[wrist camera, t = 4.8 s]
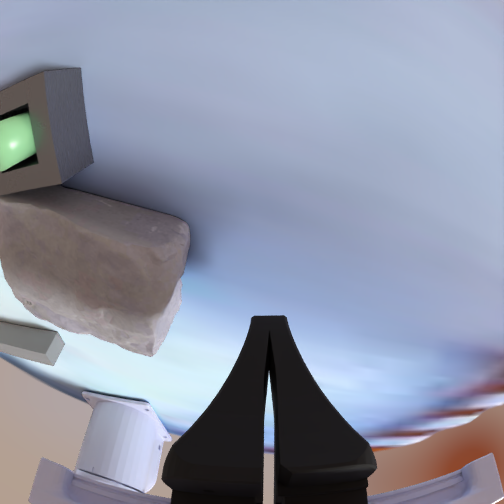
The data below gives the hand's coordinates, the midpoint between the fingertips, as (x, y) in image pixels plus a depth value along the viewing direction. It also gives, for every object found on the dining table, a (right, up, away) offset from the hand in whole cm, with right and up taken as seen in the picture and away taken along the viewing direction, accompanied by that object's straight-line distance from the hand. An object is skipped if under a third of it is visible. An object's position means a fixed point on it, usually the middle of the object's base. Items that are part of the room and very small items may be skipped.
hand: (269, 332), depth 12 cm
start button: (-11, +10, 0) cm, 15 cm away
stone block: (-10, +3, +5) cm, 12 cm away
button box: (-11, +10, 0) cm, 15 cm away
